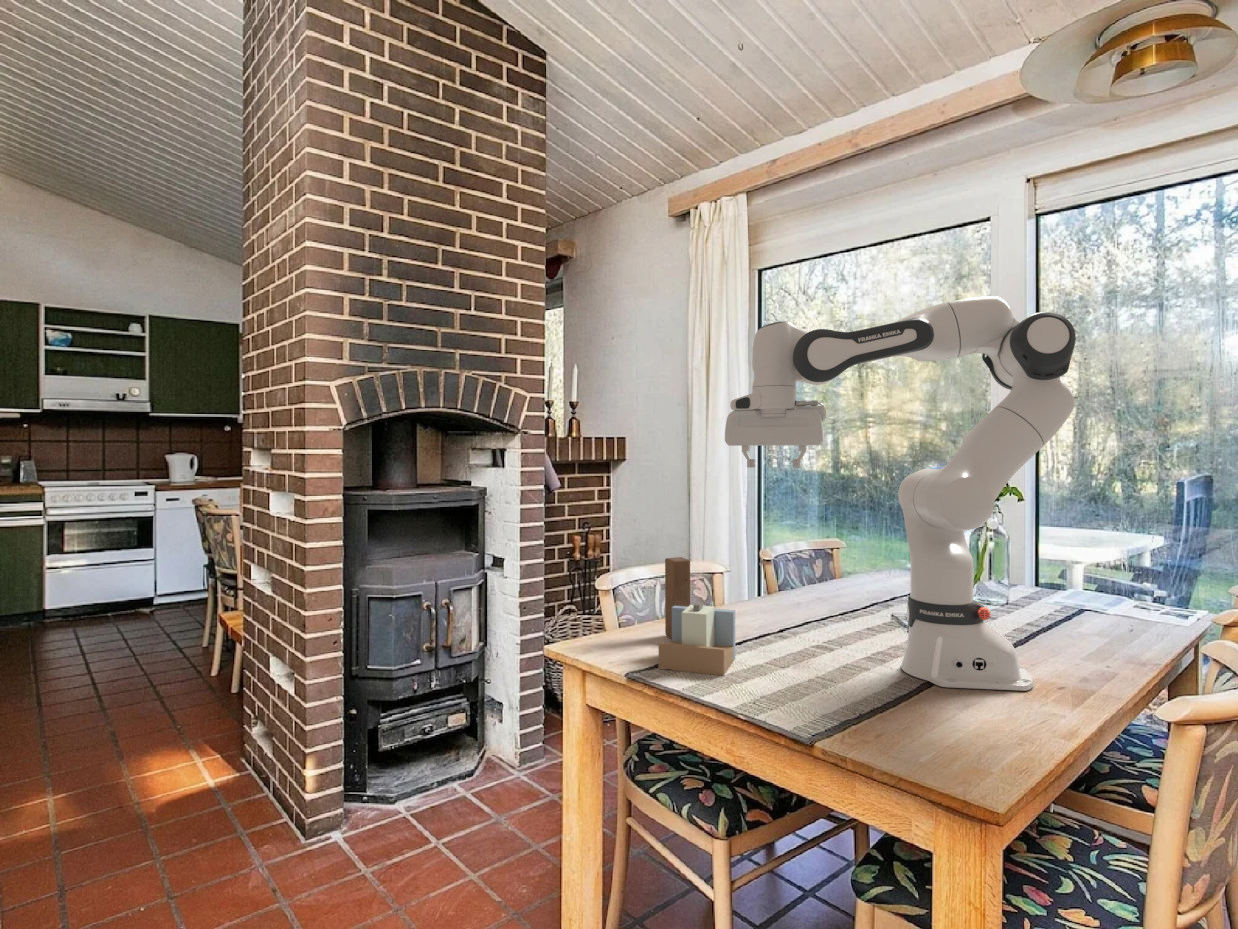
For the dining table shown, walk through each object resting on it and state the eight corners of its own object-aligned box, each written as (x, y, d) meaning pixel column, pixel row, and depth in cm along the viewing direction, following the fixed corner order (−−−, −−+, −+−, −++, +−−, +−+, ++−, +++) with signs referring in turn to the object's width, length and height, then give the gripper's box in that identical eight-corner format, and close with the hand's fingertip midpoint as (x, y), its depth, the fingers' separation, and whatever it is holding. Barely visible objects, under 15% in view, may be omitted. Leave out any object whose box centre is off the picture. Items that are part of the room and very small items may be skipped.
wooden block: (700, 643, 159) (700, 562, 159) (682, 646, 158) (681, 564, 157) (682, 633, 168) (682, 556, 167) (664, 635, 166) (664, 558, 165)
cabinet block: (714, 645, 147) (714, 600, 147) (706, 655, 141) (706, 608, 140) (690, 643, 149) (690, 599, 149) (681, 652, 143) (681, 606, 142)
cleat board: (735, 658, 148) (735, 610, 148) (723, 675, 138) (723, 623, 137) (674, 652, 153) (674, 605, 152) (658, 668, 142) (658, 618, 142)
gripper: (826, 400, 149) (826, 467, 150) (729, 403, 156) (729, 466, 157) (824, 399, 143) (824, 468, 144) (722, 401, 150) (722, 467, 151)
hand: (773, 467), depth 150 cm, fingers open, 8 cm apart
